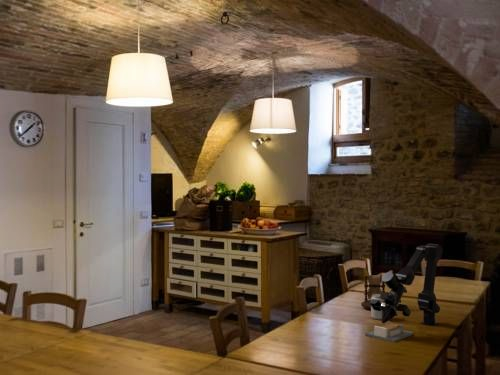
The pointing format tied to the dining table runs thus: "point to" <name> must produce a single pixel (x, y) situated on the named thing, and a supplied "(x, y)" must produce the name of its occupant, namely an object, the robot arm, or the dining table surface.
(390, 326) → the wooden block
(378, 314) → the can
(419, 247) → the robot arm
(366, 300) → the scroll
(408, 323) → the dining table surface
